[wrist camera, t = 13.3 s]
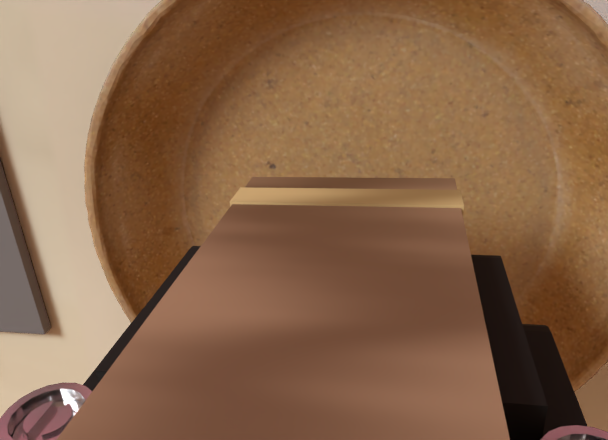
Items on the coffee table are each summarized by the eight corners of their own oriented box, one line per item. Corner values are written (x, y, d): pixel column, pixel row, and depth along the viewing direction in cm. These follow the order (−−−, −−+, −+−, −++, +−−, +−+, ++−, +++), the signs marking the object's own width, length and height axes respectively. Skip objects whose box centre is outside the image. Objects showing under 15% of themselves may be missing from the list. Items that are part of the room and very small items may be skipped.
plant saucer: (569, 422, 18) (592, 489, 16) (156, 370, 21) (124, 422, 18) (709, -76, 12) (782, -86, 10) (91, -70, 14) (29, -77, 12)
